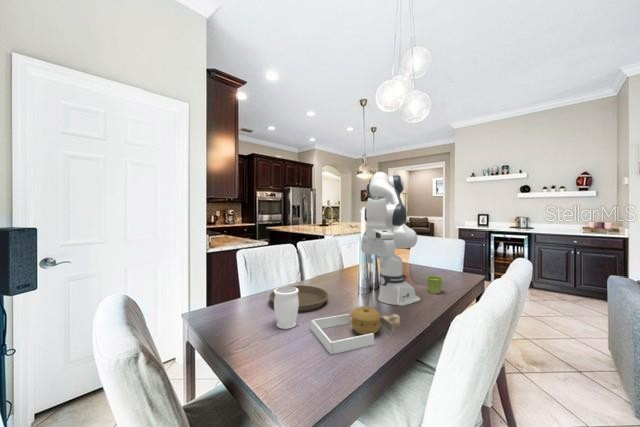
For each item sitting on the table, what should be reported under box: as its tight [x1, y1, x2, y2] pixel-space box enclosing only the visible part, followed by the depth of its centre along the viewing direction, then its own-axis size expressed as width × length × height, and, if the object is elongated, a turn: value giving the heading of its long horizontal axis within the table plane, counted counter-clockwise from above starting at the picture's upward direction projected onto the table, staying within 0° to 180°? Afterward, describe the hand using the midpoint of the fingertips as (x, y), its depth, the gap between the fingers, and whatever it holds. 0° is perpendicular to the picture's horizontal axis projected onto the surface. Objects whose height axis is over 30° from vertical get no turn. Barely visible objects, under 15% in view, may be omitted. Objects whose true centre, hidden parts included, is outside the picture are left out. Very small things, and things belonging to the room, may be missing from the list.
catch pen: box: [310, 313, 375, 355], centre depth 101 cm, size 17×20×4 cm
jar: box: [273, 286, 299, 330], centre depth 112 cm, size 11×10×15 cm
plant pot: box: [425, 275, 444, 295], centre depth 154 cm, size 9×9×9 cm
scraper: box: [379, 313, 401, 336], centre depth 110 cm, size 8×12×4 cm, turn 22°
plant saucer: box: [268, 284, 329, 313], centre depth 139 cm, size 31×31×5 cm
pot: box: [350, 306, 382, 335], centre depth 105 cm, size 12×12×10 cm
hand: (376, 265), depth 114 cm, fingers open, 8 cm apart
